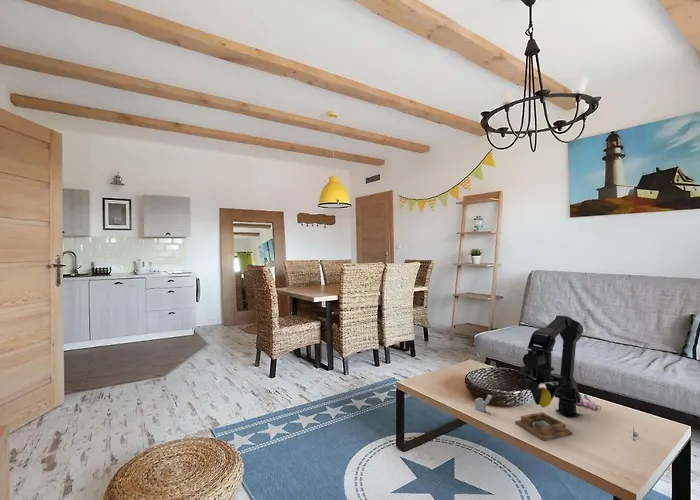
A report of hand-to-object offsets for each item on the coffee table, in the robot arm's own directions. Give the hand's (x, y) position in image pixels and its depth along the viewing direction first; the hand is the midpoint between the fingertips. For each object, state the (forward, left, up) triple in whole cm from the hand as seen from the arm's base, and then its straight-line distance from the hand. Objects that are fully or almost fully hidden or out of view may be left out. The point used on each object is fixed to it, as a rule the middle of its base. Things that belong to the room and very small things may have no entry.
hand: (543, 403), depth 141 cm
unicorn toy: (-34, -11, -11) cm, 38 cm away
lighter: (+12, -20, -10) cm, 26 cm away
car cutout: (-31, +13, -11) cm, 35 cm away
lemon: (0, 0, -2) cm, 2 cm away
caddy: (0, 0, -10) cm, 10 cm away
